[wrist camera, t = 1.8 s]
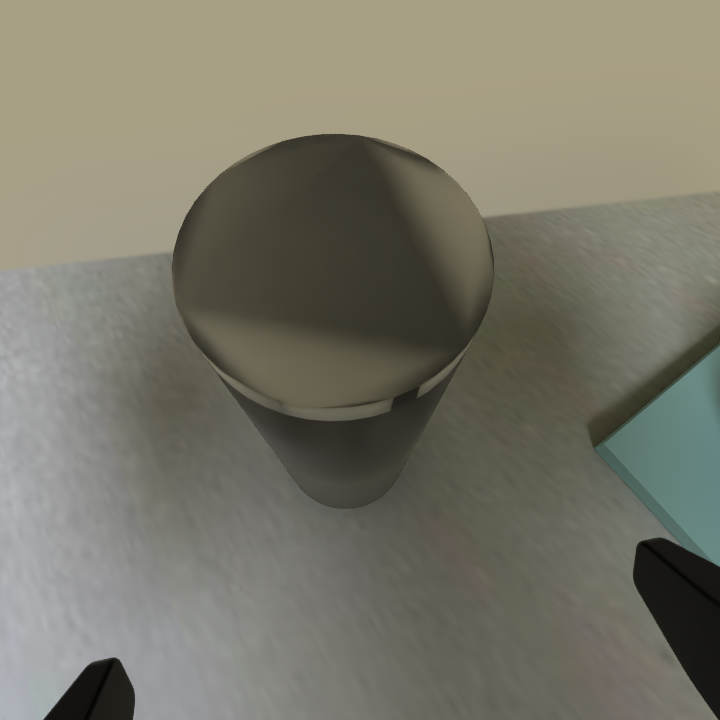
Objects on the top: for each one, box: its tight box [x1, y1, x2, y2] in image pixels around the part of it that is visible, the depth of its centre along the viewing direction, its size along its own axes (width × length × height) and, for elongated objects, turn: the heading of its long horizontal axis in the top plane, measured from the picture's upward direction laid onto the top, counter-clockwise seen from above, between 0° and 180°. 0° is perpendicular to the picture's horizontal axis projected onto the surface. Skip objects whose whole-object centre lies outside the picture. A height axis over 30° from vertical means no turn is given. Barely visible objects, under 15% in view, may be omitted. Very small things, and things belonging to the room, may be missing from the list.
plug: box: [172, 134, 494, 509], centre depth 13 cm, size 4×4×12 cm
